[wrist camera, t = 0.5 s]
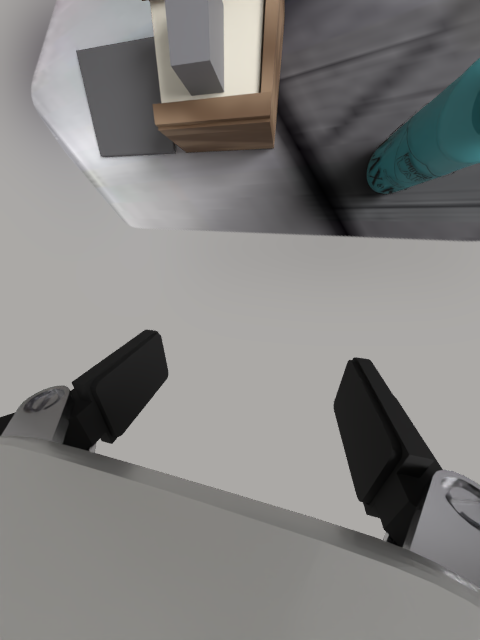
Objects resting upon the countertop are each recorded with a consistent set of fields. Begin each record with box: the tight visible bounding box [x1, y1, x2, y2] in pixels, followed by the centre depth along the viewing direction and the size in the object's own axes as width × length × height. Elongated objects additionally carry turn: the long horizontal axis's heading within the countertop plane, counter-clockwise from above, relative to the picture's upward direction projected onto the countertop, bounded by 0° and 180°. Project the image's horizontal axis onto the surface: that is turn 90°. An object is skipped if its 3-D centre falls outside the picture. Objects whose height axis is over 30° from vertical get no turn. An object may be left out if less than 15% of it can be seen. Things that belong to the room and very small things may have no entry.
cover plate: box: [150, 0, 265, 103], centre depth 19 cm, size 9×12×6 cm
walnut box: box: [142, 0, 284, 153], centre depth 23 cm, size 12×14×8 cm
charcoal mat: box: [76, 37, 175, 157], centre depth 29 cm, size 12×14×1 cm
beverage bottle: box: [367, 58, 480, 195], centre depth 17 cm, size 6×7×20 cm
